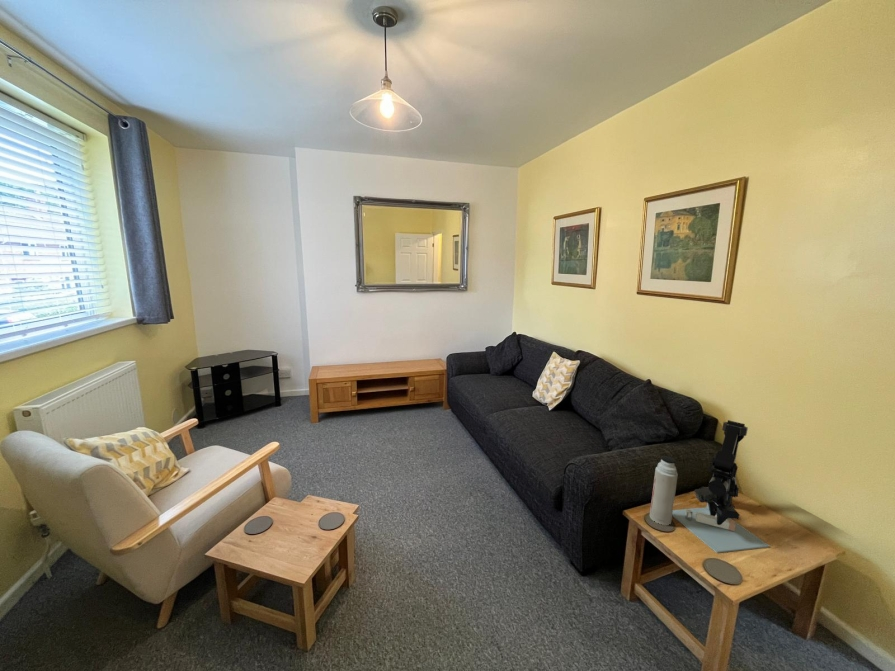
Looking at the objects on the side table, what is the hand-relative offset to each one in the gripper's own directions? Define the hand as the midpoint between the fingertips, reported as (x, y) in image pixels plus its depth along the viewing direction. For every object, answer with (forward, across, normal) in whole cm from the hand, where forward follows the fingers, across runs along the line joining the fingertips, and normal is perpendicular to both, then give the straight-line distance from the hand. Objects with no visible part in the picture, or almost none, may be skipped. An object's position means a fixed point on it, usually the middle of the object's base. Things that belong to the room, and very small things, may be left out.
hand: (715, 520), depth 146 cm
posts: (+2, -6, -3) cm, 7 cm away
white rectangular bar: (+1, +1, -1) cm, 2 cm away
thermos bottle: (+3, +1, -21) cm, 22 cm away
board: (+2, +2, -1) cm, 3 cm away
